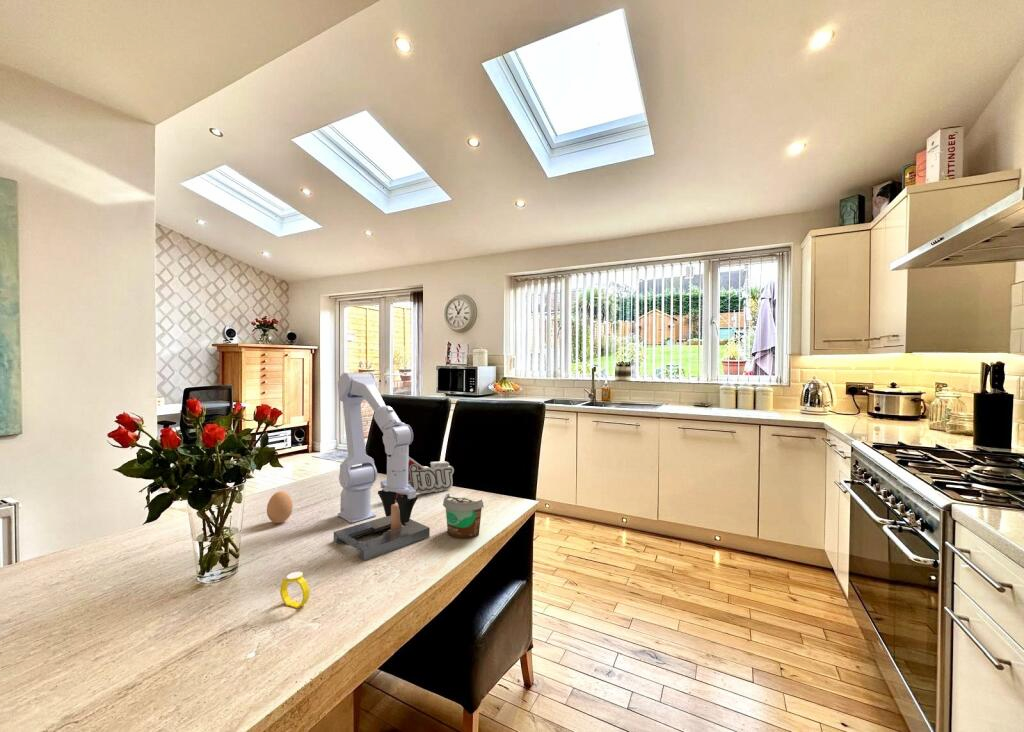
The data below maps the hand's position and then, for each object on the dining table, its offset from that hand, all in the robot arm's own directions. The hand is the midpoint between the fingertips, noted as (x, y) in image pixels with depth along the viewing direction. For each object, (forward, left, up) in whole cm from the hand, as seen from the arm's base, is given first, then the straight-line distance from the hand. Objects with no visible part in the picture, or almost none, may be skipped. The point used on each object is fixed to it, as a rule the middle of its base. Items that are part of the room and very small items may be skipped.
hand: (397, 518), depth 113 cm
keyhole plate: (0, -4, -4) cm, 6 cm away
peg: (0, 0, -4) cm, 4 cm away
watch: (+15, -32, -4) cm, 36 cm away
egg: (-32, -19, -4) cm, 37 cm away
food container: (+13, +11, -4) cm, 18 cm away
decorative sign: (-24, +26, -5) cm, 36 cm away
